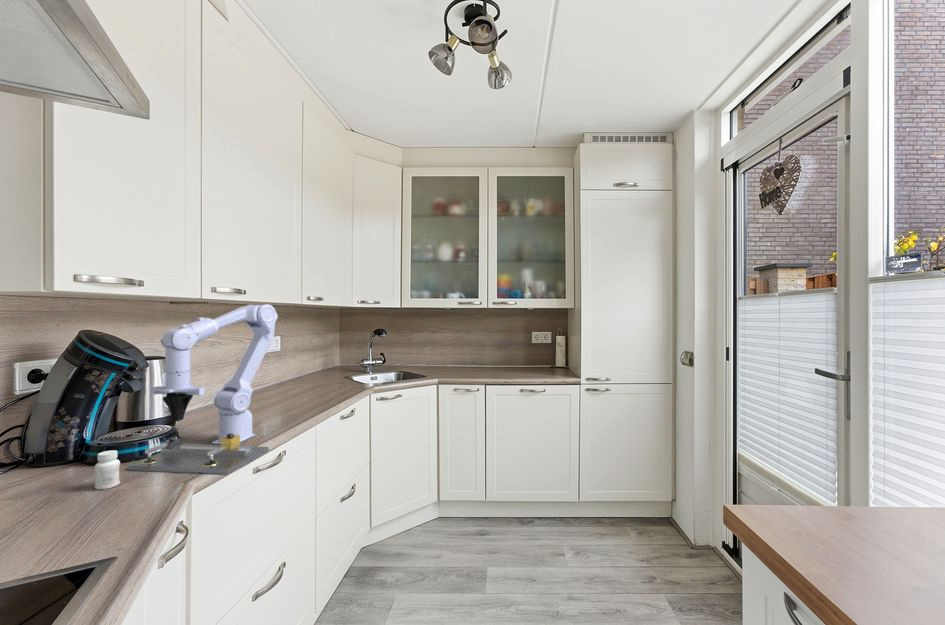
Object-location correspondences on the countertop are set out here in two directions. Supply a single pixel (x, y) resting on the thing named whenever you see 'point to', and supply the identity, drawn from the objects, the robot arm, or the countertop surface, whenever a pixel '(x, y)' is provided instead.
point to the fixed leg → (164, 446)
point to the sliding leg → (226, 444)
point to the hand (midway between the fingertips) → (178, 420)
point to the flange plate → (197, 461)
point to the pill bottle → (107, 470)
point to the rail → (206, 451)
